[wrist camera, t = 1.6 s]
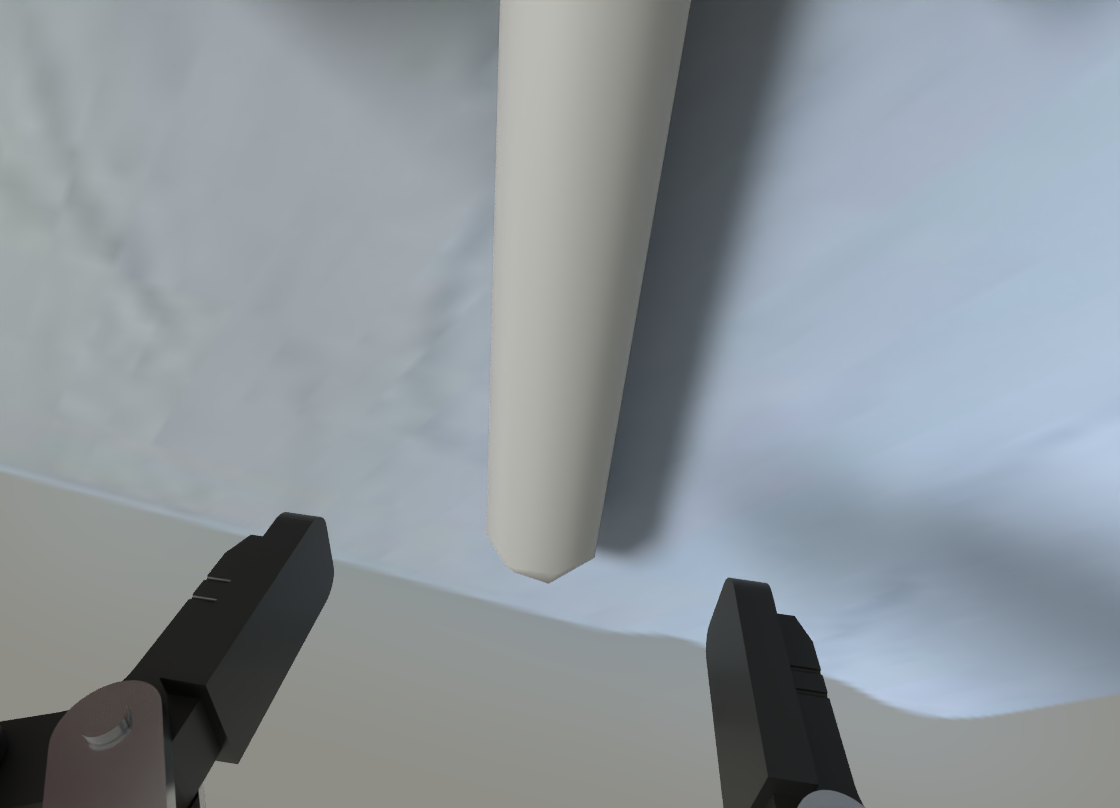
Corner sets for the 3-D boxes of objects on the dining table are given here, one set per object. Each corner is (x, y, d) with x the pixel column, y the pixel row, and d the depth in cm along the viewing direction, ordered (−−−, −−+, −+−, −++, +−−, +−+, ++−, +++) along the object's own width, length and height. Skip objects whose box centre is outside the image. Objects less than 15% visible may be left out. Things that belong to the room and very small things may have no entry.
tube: (614, 599, 25) (800, -276, 11) (486, 615, 23) (514, -344, 10) (583, 510, 29) (689, -198, 15) (474, 519, 28) (482, -238, 14)
